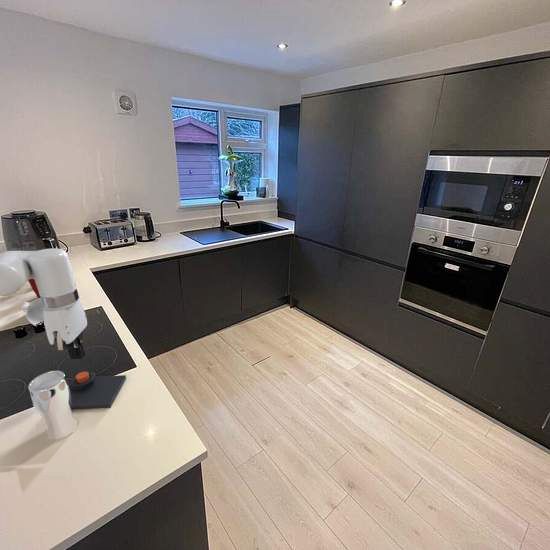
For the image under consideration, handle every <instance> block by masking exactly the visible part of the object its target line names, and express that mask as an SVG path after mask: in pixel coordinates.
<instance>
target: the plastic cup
mask: <svg viewBox="0 0 550 550" xmlns="http://www.w3.org/2000/svg"><path fill="white" fill-rule="evenodd" d="M27 282H28V283H29V285H30V287H31V288H32V290H33V293H34V294H35V295H36V297H37V299H38V298H40V294H39V291H38V288H37V285H36V282H35V280H34V279H30V280H28V281H27Z"/></svg>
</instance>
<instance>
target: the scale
mask: <svg viewBox="0 0 550 550" xmlns="http://www.w3.org/2000/svg"><path fill="white" fill-rule="evenodd" d="M87 372H88V374H89V379H88V380H87V381H86V382H83V383H78V382H77V380H76V375H75V376H73V377H72V378H71V379H70V390H71V396H72V411H77V410H94V409H95V410H96V409H97V410H98V409H111V408H112V406H113V404H114V402H115V401H116V399H117V397H118V396H119V393H120V391H121V390H122V389H123V386H124V384H125V382H126V380H127V375H126V374H122V375H102V376H96V373H95V372H93V371H91V370H90V371H87Z"/></svg>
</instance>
